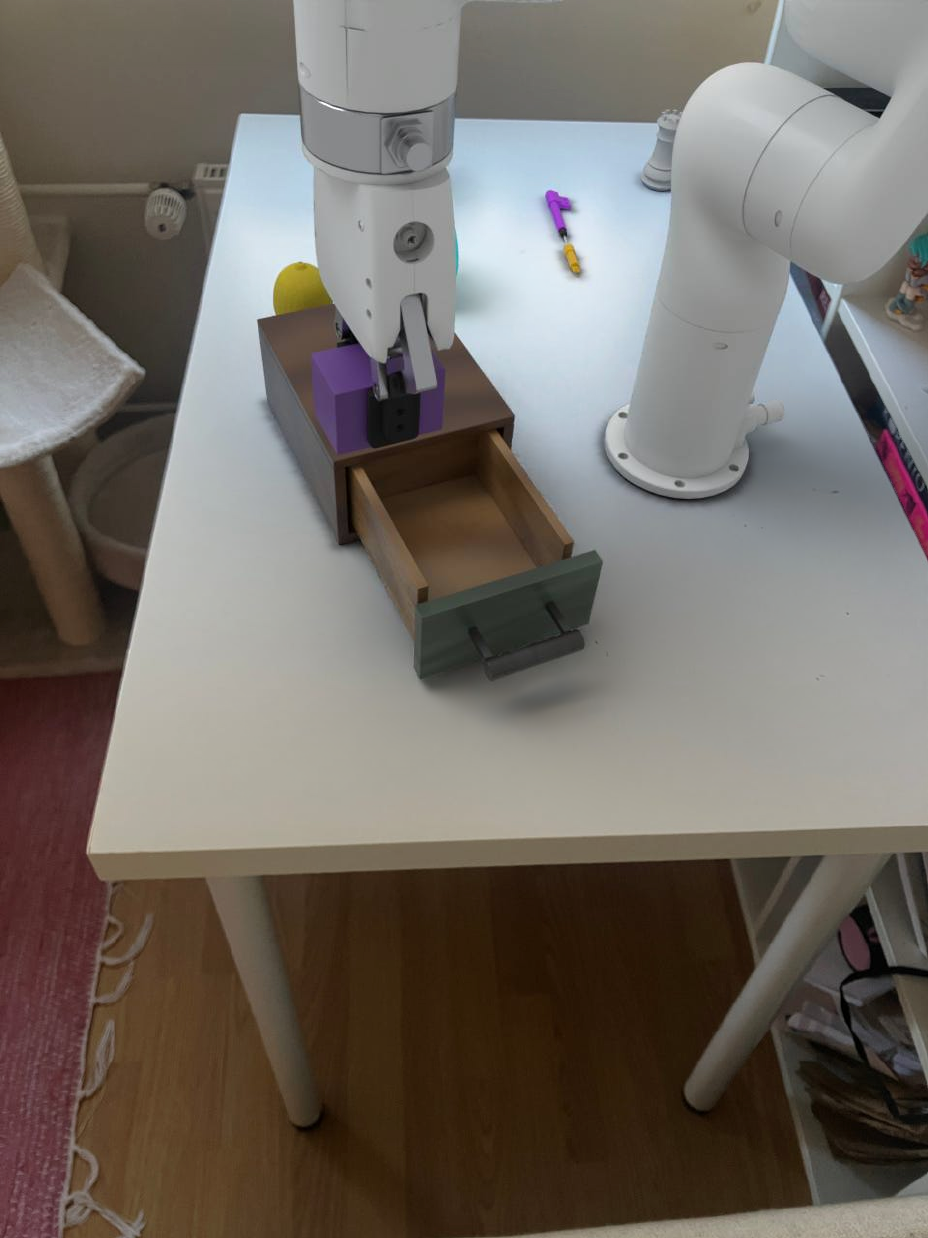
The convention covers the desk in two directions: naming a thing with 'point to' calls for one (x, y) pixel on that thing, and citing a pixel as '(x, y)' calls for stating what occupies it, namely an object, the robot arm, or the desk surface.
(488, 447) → the drawer
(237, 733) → the desk surface
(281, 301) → the lemon
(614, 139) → the desk surface
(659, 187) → the rook chess piece
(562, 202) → the purple and yellow tool
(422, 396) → the purple block
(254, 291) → the desk surface
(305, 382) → the desk cabinet
